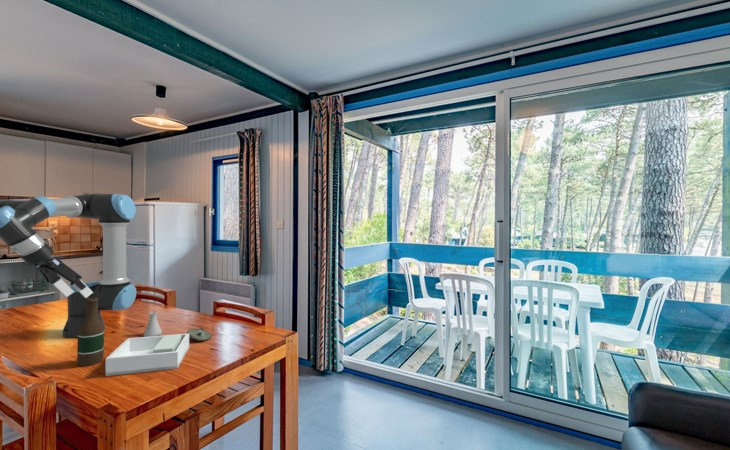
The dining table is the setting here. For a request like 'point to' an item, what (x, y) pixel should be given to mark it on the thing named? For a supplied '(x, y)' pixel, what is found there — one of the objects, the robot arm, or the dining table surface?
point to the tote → (144, 356)
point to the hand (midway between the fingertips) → (79, 294)
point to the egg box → (168, 344)
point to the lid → (199, 334)
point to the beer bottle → (90, 336)
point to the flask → (153, 326)
